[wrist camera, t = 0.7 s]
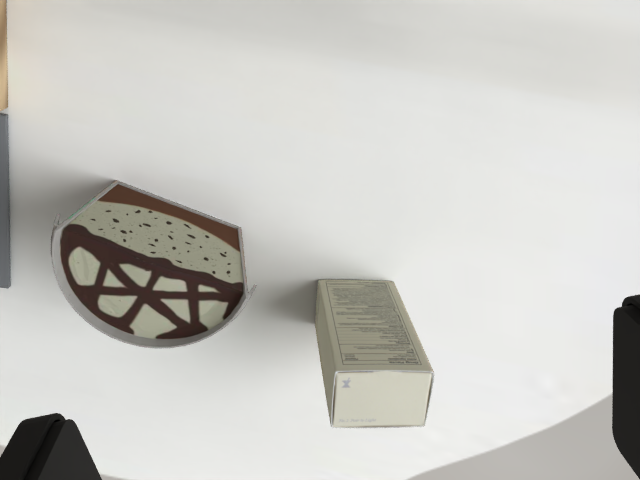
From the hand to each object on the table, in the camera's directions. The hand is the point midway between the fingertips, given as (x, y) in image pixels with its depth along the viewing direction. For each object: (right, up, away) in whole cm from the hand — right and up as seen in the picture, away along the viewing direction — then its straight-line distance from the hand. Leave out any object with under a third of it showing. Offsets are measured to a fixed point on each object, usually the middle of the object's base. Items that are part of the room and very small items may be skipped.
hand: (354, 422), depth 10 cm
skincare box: (+2, -2, +37) cm, 37 cm away
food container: (-12, +3, +34) cm, 36 cm away
